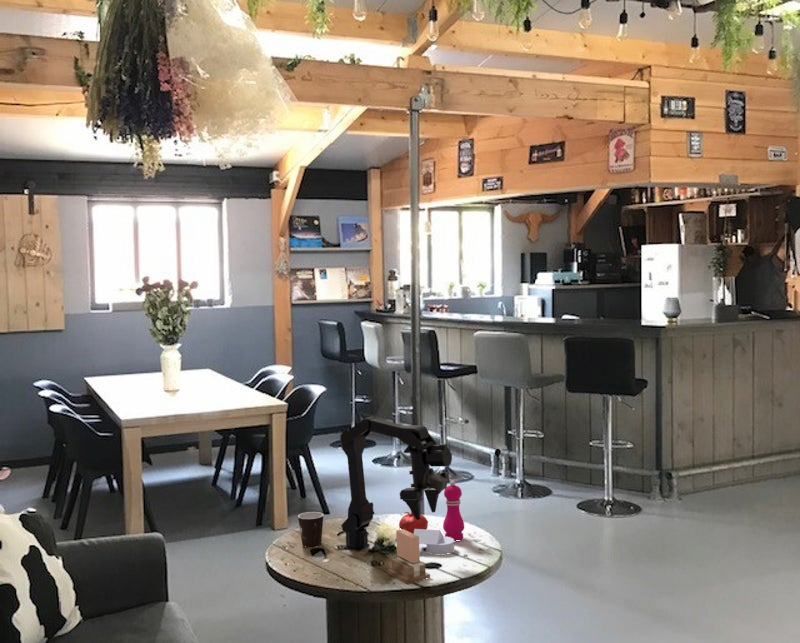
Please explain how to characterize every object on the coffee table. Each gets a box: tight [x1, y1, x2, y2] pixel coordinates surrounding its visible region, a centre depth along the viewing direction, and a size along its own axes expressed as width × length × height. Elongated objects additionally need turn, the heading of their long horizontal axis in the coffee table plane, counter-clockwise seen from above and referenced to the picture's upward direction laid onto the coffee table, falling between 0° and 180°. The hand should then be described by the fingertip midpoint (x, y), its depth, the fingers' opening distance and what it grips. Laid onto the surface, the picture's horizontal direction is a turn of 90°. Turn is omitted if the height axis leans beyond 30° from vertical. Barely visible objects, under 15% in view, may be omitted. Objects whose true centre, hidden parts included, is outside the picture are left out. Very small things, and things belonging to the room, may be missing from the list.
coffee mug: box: [297, 511, 324, 548], centre depth 276 cm, size 12×9×10 cm
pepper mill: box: [442, 480, 465, 541], centre depth 278 cm, size 7×7×20 cm
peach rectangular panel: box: [395, 529, 421, 563], centre depth 244 cm, size 9×2×8 cm, turn 31°
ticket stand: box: [387, 554, 431, 585], centre depth 244 cm, size 11×8×5 cm
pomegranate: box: [398, 508, 429, 534], centre depth 285 cm, size 10×10×9 cm
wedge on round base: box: [414, 529, 455, 555], centre depth 268 cm, size 9×7×13 cm
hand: (426, 515), depth 257 cm, fingers open, 9 cm apart
